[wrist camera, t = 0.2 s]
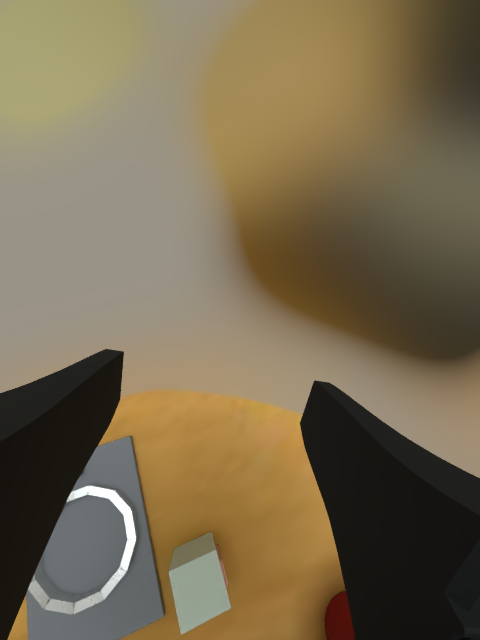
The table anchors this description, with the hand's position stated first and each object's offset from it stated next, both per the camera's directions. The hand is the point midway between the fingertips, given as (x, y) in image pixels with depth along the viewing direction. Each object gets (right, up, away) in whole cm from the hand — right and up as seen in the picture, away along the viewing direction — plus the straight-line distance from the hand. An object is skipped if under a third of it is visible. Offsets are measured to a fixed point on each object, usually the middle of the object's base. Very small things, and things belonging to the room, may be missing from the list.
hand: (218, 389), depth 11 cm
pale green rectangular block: (-4, -24, +22) cm, 33 cm away
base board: (-16, -21, +22) cm, 34 cm away
